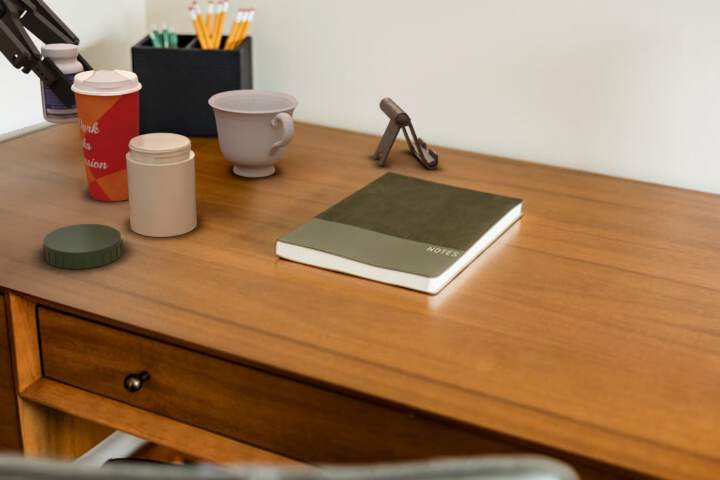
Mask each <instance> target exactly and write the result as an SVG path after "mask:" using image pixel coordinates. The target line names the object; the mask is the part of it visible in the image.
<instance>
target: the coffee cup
mask: <svg viewBox="0 0 720 480" xmlns="http://www.w3.org/2000/svg"><path fill="white" fill-rule="evenodd" d="M94 70H95V69H94ZM94 70H92V71H86V72H82V73H79V74H77V75H75V77H74V84H73V85H72V87H71V90H72V91H74V92H75V99H76V106H77V113H78V120H79V122H78V125H79V126H78V127H79V133H80V140H81V147H82V153H83V159H84V168H85V173H86V179H87V185H88V190H89V195H90V197H91V198H92V199H94V200H97V201H102V202H122V201H126V200H129V199H128V183H127V168H126V154H127V153H128V152H129V151H130V148H129V146H128V145H129V143H130V140H131V139H133V138H135V137H137V136H140V90H141V89H142V88H143V85H142V83H141V82H139V78H138V75H137V74H136V73H135V72H133V71H128V70H122V69H113V70H110V69H99V70H97V71H96V70H95V71H94Z"/></svg>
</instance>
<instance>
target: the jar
mask: <svg viewBox="0 0 720 480" xmlns="http://www.w3.org/2000/svg"><path fill="white" fill-rule="evenodd" d="M191 143H192V140H190V138H188V137H187V136H185V135H182V134H177V133H171V132H154V133H153V132H151V133H145V134H141V135H140V134H139V136H137V137H135V138H133V139H131V140H130V143H129V145H128V146H129V148H130V151H129V152H128V153H127V154H126V168H127V183H128V199H127V200H128V211H129V227H130V229H131V230H132V232H134V233H136V234H139V235H141V236H145V237H153V238H166V237H167V238H168V237H176V236H181V235H184V234H187V233H190V232H191V231H193V230H194V229H195V228H196V227H197V225H198V214H197V213H198V211H197V209H198V208H197V184H196V183H197V181H196V180H197V179H196V154H195V152H194V151H193V150H192V144H191Z"/></svg>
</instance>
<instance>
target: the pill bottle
mask: <svg viewBox="0 0 720 480" xmlns="http://www.w3.org/2000/svg"><path fill="white" fill-rule="evenodd" d="M40 53H41V55H42V58H43V59H44V58H45V57H49V58H50V59H51V60H52V61H53V62H54V63H55V64H56V66H57V67H58V68H59V69H60V70H61V71H62V72H63V73H64V74H65V75H66V77H67V78H68V79H69V80H70V81H71V82H72V83H73V84H74V77H75V75H77V74H79V73H82V72H84V70H83V66H82V64H81V63H80V62H78V61H77V56H78V53H79V46H77V45H73V44H48V45H45V44H44V45H41V46H40ZM39 85H40V87H39V88H40V95H41V106H42V107H41V108H42V116H43V119H44V120H45V121H46V122H48V123H51V124H59V125H60V124H61V125H62V124H63V125H64V124H67V125H68V124H75V123H79V120H78V113H77V106H76V102H75V104H74V105H73V106H72V107H71V108H67V107H66V106H65V105H64V104H63V103H62V102H61V101H60V100H59V98H58V97H57V96H56V95H55V94H54V93H53V92H52V91H51V90H50V89H49V87H48V86H46V85H45V84H44V83H43V82H42V81H41V80H40V79H39Z"/></svg>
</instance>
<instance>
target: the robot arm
mask: <svg viewBox="0 0 720 480" xmlns="http://www.w3.org/2000/svg"><path fill="white" fill-rule="evenodd" d="M27 31H28V32H30V33H31V34H32V35H33V36H35V37H36V38H37V40H39V41H41V42H42V43H43V44H44V45H48V44H73V45H77V47H79V45H80V41H81V40H80V38H79V36H77V35H76V34H75V33H74V32H73V30H71V29H70V28H69V26H68V25H67V24H66V23H65V22H64V21H63V20H62V19H61V18H60V17H59V16H58V15H57V14H56V12H55V11H53V9H51V8H50V6H49V5H48V4H47V3H46V2H45V1H44V0H0V53H1V54H2V55H3V56H4V57H5V58H6V60H7V61H8V62H9V63H10V64H11V66H12V67H13V68H15V69H17V70H20V69H21V70H20V71H21V72H22V73H23V74H25V75H28V74H30V73H31V71H32V72H33V73H34V74H35V75H36V77H38V79H39V81H40V80H41V81H42V82H43V83H44V84H45V85H46V86H48V87H49V89H50V90H51V91H52V92H53V93H54V94H55V95H56V96H57V97H58V98H59V100H60V101H61V102H62V103H63V104H64V105H65V106H66V107H67V108H71V107H72V106H73V105H74V104H75V102H76V99H75V92H74V91H72V90H71V87H72V85H73V83H72V82H71V81H70V80H69V79H68V78H67V77H66V75H65V74H64V73H63V72H62V71H61V70H60V69H59V68H58V67H57V66H56V64H55V63H54V62H53V61H52V60H51V59H50V58H49V57H45V58H44V57H43V56H42V55H41V51H40V50H39V48H38V46H37V45H36V44H35V42H34V41H33V39H32V38H31V36H30V35H29V33H28V32H27ZM77 61H78V62H80V63H81V64H82V66H83V70H84V72H86V71H92V70H94V71H96V70H95V69H94V67H92V66H91V64H90V63H88V61H87V60H86V59H85V58H84V57H83V56H82V55H81V53H80V52H78V56H77Z"/></svg>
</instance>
